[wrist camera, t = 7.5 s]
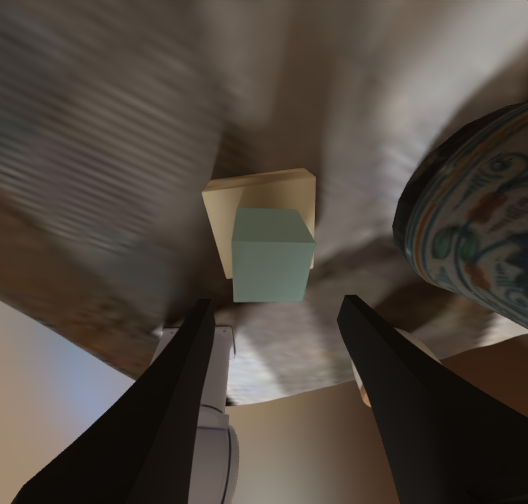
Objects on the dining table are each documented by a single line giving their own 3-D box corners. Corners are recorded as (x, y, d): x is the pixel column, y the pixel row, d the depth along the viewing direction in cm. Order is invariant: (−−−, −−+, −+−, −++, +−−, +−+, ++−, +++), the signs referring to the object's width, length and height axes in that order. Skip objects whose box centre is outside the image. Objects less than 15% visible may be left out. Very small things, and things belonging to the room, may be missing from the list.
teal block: (237, 258, 17) (233, 302, 13) (236, 207, 14) (231, 241, 10) (289, 258, 17) (302, 301, 13) (297, 209, 15) (315, 243, 10)
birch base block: (230, 254, 21) (226, 278, 18) (211, 179, 17) (201, 192, 14) (303, 245, 21) (313, 268, 18) (302, 166, 17) (315, 177, 13)
